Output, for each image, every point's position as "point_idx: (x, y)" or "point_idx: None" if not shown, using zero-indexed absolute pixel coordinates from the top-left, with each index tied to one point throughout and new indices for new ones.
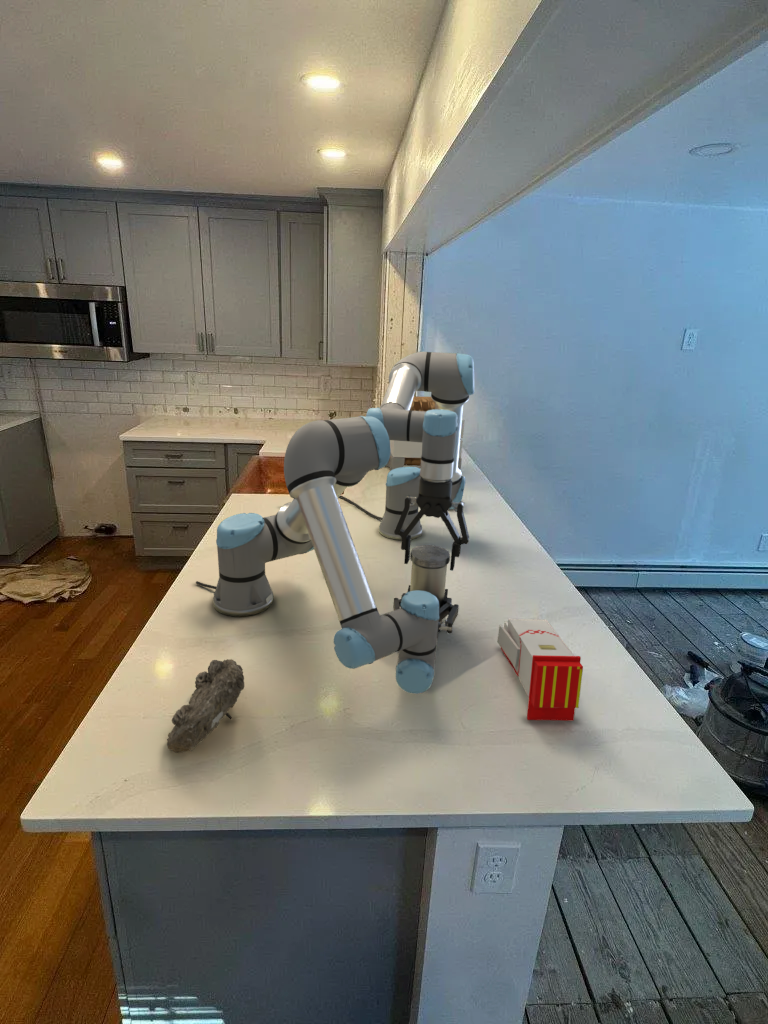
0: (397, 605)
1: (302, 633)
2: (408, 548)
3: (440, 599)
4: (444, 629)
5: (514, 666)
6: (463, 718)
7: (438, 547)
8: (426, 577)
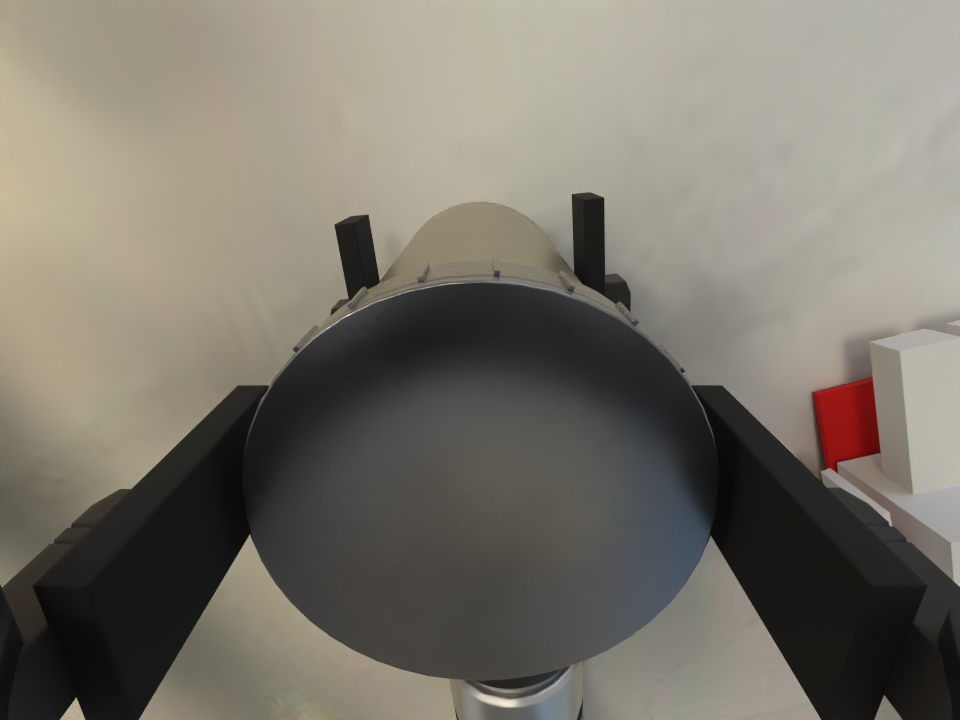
0: None
1: (47, 500)
2: (209, 587)
3: None
4: None
5: None
6: (656, 706)
7: (560, 324)
8: None
